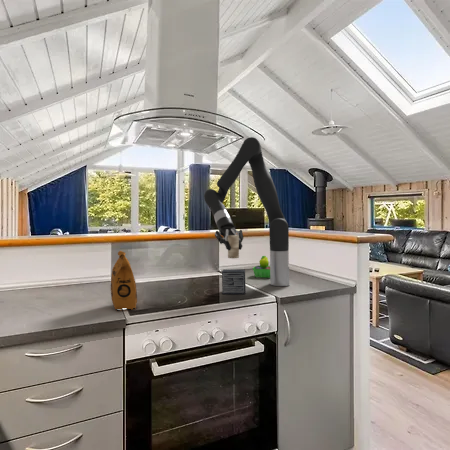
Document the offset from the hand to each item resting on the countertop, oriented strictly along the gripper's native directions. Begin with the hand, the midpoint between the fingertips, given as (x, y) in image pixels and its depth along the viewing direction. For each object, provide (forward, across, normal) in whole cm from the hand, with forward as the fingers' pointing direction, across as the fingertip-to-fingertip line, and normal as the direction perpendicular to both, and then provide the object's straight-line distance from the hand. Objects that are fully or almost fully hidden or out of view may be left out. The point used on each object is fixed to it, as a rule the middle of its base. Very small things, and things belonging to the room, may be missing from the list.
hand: (235, 248), depth 144 cm
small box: (+13, 0, +16) cm, 21 cm away
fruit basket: (-3, +31, +32) cm, 44 cm away
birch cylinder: (+2, 0, +4) cm, 5 cm away
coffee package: (+12, -48, +18) cm, 53 cm away
